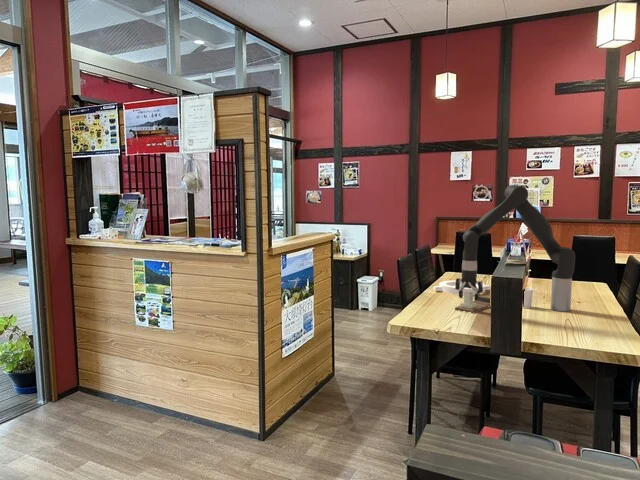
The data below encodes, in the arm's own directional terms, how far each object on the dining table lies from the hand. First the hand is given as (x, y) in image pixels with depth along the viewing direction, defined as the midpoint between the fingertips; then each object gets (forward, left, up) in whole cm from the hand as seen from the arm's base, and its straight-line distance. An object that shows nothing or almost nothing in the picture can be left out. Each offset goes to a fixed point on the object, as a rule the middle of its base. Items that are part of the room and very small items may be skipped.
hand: (468, 299), depth 235 cm
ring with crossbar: (-43, -27, -7) cm, 51 cm away
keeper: (0, 0, -4) cm, 4 cm away
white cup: (-28, +18, -6) cm, 34 cm away
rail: (-7, 0, -6) cm, 9 cm away
